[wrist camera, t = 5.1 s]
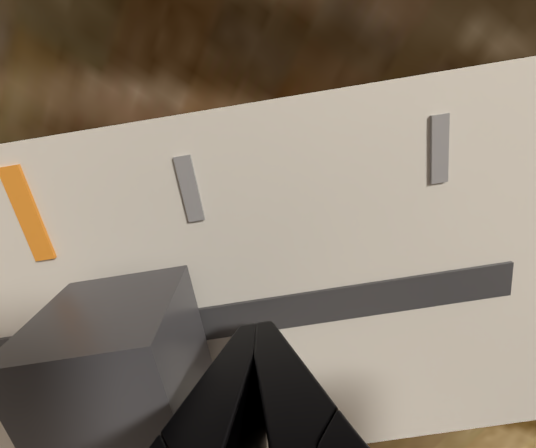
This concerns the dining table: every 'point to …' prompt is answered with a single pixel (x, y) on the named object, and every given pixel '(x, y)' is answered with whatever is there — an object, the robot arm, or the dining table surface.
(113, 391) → the fader
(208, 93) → the dining table surface
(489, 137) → the console
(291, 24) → the dining table surface
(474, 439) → the dining table surface
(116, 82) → the dining table surface
